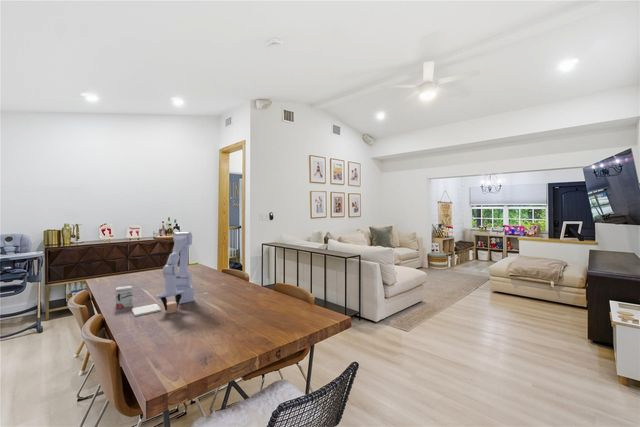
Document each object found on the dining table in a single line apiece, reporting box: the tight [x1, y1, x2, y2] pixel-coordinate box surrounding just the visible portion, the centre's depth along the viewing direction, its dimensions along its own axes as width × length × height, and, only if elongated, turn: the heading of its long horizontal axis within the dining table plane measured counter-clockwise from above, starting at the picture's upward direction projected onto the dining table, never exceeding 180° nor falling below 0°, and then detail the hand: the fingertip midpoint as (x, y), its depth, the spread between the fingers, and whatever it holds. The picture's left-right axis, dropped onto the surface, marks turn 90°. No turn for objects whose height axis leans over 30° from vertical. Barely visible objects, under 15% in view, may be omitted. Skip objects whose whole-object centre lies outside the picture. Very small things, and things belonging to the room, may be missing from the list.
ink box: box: [115, 285, 134, 310], centre depth 179 cm, size 8×5×12 cm, turn 123°
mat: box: [131, 303, 162, 317], centre depth 171 cm, size 13×13×1 cm
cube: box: [165, 300, 178, 314], centre depth 169 cm, size 5×5×5 cm
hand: (171, 308), depth 169 cm, fingers closed on cube, 5 cm apart
